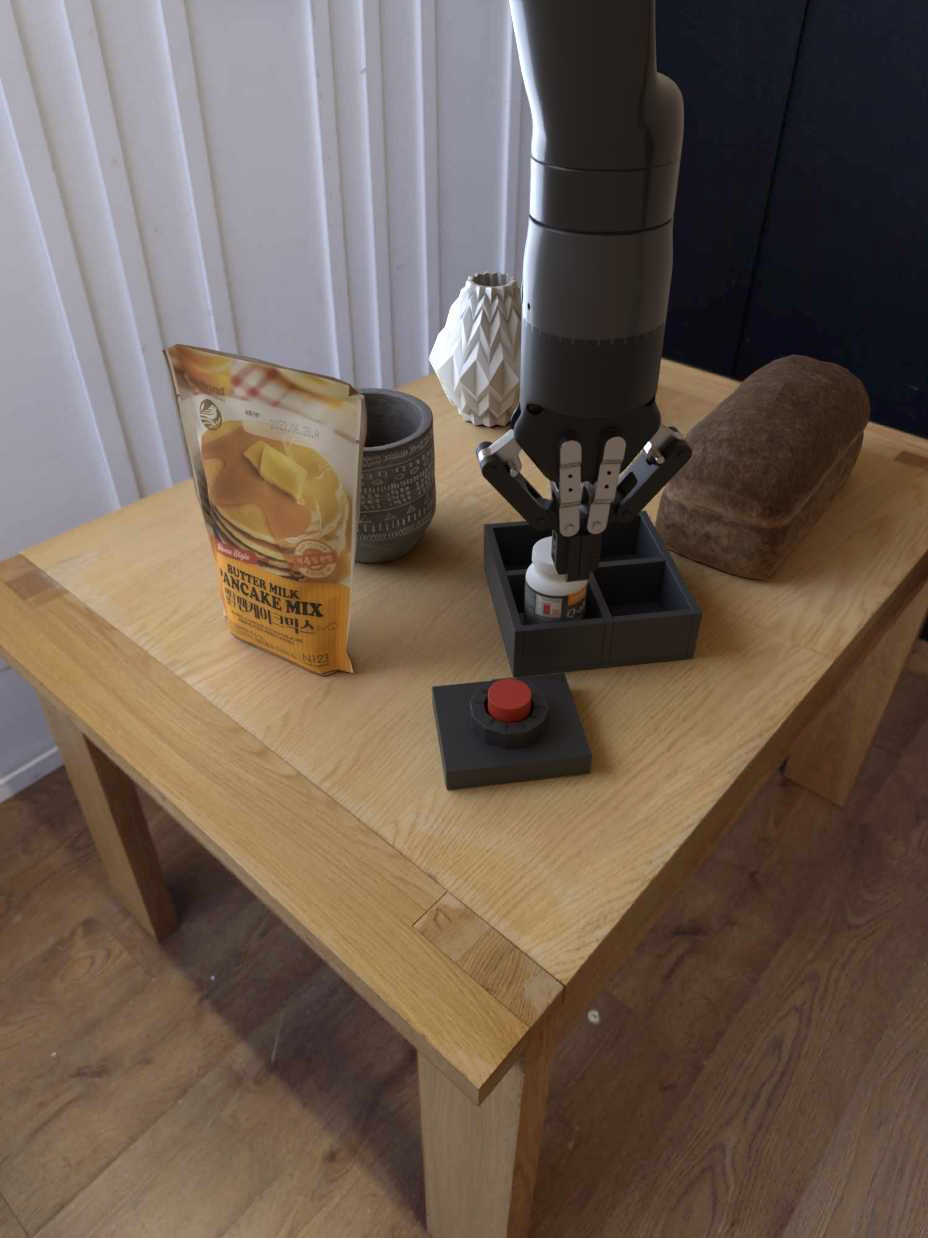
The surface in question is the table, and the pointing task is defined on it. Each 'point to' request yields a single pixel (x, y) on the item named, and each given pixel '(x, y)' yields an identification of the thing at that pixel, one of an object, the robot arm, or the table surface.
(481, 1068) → the table surface
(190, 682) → the table surface
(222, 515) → the pancake mix bag
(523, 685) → the button
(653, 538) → the black divided tray
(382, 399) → the planter
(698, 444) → the bread
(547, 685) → the block
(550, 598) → the pill bottle
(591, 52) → the robot arm
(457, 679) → the table surface
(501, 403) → the vase
